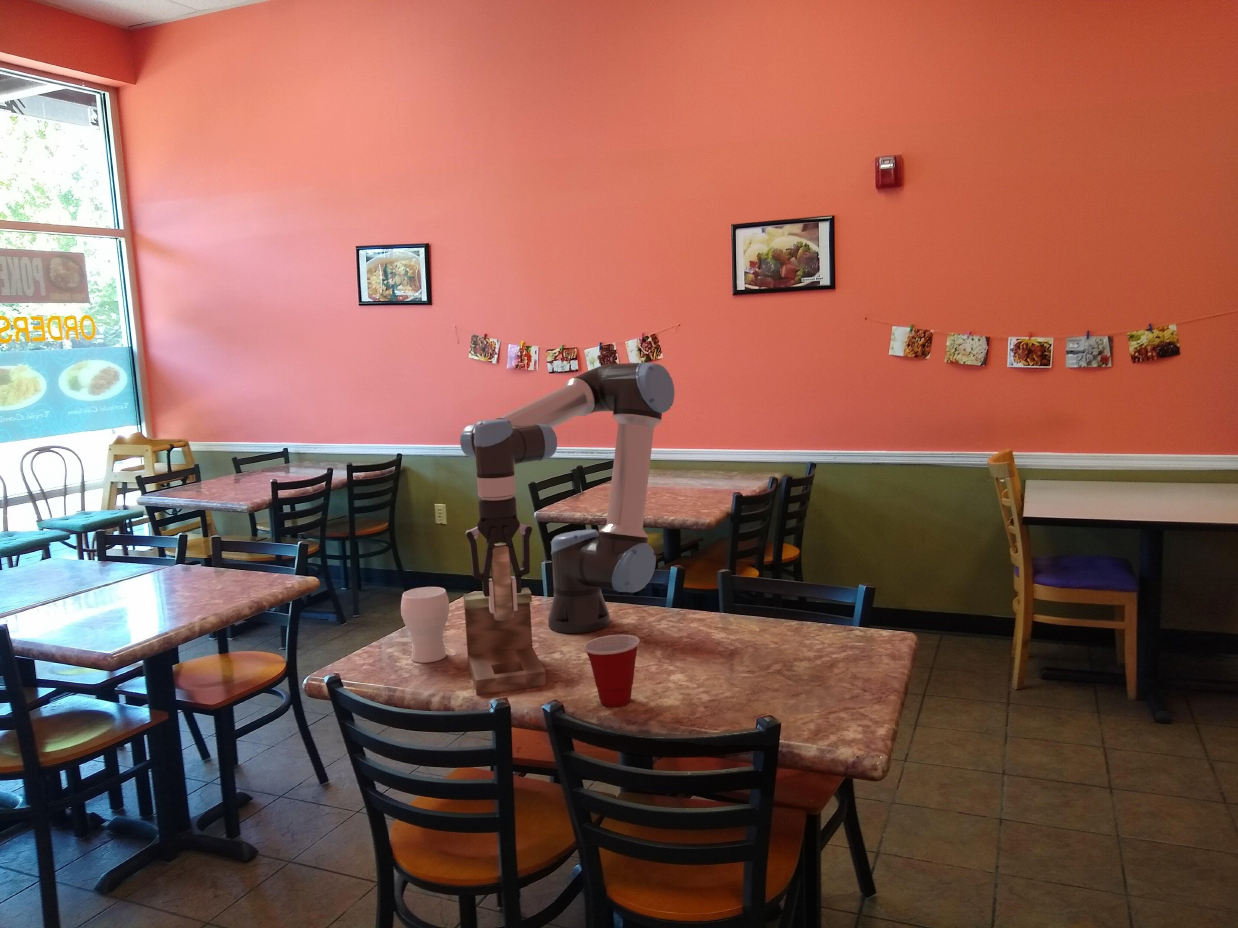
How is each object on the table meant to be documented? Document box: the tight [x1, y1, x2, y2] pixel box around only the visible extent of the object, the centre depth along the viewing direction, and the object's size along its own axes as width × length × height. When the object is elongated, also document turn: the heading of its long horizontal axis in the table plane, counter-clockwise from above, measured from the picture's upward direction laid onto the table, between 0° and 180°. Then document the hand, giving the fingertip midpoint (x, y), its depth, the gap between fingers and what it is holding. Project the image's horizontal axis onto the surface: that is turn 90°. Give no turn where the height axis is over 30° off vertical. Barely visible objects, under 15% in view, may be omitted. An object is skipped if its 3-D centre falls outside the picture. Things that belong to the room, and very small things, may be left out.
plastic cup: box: [582, 634, 640, 708], centre depth 176 cm, size 11×11×12 cm
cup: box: [400, 586, 450, 664], centre depth 206 cm, size 11×11×15 cm
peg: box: [490, 543, 514, 621], centre depth 187 cm, size 4×4×15 cm
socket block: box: [463, 587, 547, 696], centre depth 193 cm, size 14×18×16 cm
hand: (503, 609), depth 188 cm, fingers closed on peg, 4 cm apart
